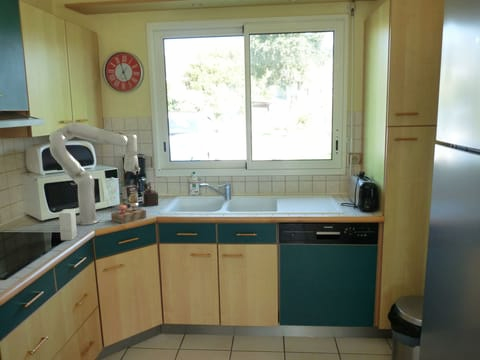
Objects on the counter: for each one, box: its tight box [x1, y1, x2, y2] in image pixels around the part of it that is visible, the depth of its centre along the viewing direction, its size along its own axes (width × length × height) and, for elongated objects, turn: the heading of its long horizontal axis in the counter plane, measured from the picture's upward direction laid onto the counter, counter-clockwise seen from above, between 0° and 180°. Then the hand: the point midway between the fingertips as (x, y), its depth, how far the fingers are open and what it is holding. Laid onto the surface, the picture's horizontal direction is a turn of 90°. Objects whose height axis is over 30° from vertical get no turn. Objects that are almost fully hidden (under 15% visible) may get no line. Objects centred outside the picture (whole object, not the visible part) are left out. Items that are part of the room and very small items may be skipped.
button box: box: [110, 207, 147, 225], centre depth 258 cm, size 18×12×5 cm, turn 137°
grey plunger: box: [131, 202, 139, 211], centre depth 260 cm, size 5×5×5 cm
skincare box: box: [58, 208, 78, 241], centre depth 220 cm, size 8×7×16 cm
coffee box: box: [121, 184, 139, 210], centre depth 286 cm, size 9×6×16 cm
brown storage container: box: [141, 182, 159, 207], centre depth 293 cm, size 16×11×18 cm
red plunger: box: [117, 204, 126, 214], centre depth 254 cm, size 5×5×5 cm
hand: (132, 179), depth 263 cm, fingers open, 9 cm apart
